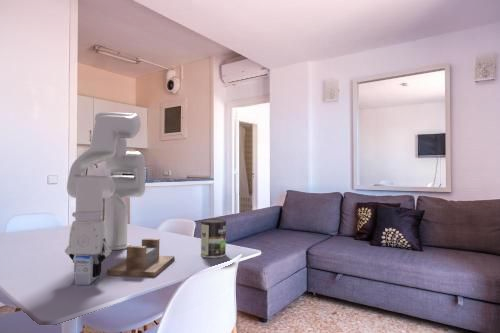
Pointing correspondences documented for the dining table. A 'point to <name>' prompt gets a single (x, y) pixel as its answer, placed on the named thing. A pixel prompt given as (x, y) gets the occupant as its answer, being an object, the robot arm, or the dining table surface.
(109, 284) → the dining table surface
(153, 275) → the display stand
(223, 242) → the coffee can
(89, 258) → the medicine box
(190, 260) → the dining table surface
